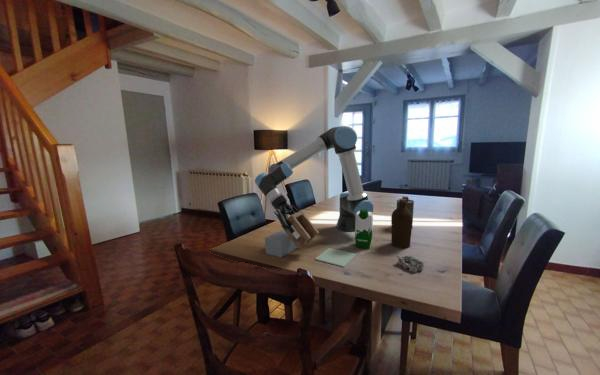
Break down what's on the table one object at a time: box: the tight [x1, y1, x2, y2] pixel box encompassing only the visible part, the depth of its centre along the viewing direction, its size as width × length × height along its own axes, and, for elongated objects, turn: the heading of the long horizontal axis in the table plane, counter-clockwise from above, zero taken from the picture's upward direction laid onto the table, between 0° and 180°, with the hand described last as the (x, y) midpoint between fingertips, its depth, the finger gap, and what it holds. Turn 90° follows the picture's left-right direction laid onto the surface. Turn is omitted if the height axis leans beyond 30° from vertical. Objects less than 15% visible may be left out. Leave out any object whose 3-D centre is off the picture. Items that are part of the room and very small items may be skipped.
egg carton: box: [396, 255, 426, 273], centre depth 119 cm, size 11×8×4 cm
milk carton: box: [354, 209, 374, 250], centre depth 142 cm, size 9×9×20 cm
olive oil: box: [390, 198, 414, 249], centre depth 142 cm, size 11×11×25 cm
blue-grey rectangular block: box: [264, 228, 298, 258], centre depth 139 cm, size 10×16×8 cm, turn 147°
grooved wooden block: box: [281, 210, 320, 249], centre depth 132 cm, size 16×9×16 cm, turn 57°
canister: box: [396, 195, 415, 229], centre depth 171 cm, size 11×10×20 cm
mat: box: [314, 247, 358, 268], centre depth 130 cm, size 15×15×1 cm
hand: (304, 234), depth 131 cm, fingers closed on grooved wooden block, 9 cm apart
